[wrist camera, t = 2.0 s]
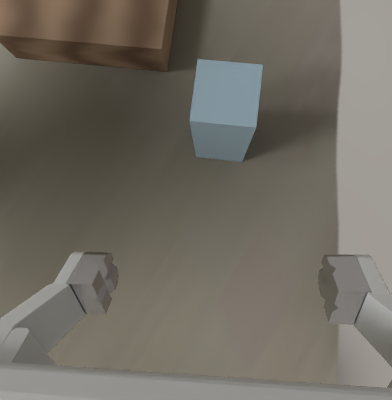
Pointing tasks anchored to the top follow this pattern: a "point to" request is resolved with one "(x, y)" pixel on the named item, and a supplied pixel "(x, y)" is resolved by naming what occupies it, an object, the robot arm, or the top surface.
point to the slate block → (224, 108)
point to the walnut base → (90, 31)
